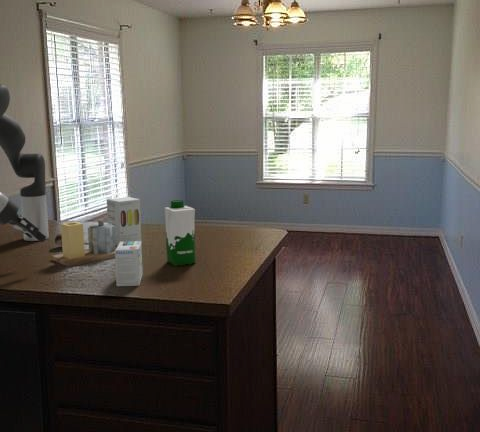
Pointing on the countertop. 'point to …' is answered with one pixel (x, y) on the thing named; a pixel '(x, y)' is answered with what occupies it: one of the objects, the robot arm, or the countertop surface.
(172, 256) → the milk carton
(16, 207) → the robot arm
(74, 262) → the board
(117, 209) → the supplement box
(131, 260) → the light bulb box
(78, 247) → the yellow rectangular block
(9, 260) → the countertop surface
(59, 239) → the mushroom
